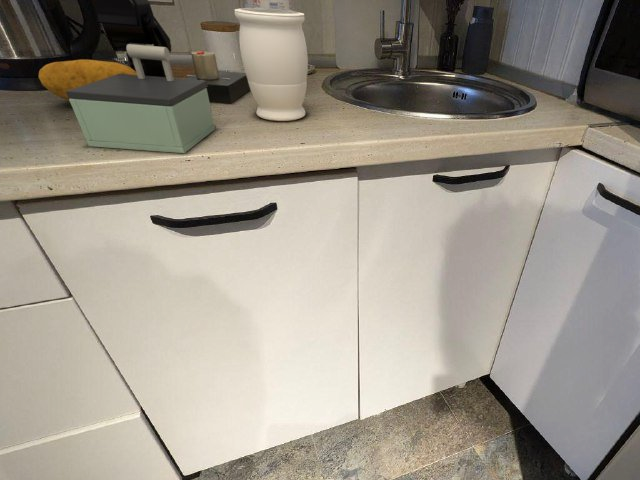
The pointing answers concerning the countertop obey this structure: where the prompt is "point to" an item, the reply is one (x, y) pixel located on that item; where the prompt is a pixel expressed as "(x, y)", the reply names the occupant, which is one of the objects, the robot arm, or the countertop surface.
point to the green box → (145, 123)
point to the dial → (205, 65)
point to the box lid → (141, 82)
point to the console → (226, 86)
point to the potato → (78, 74)
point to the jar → (274, 60)
